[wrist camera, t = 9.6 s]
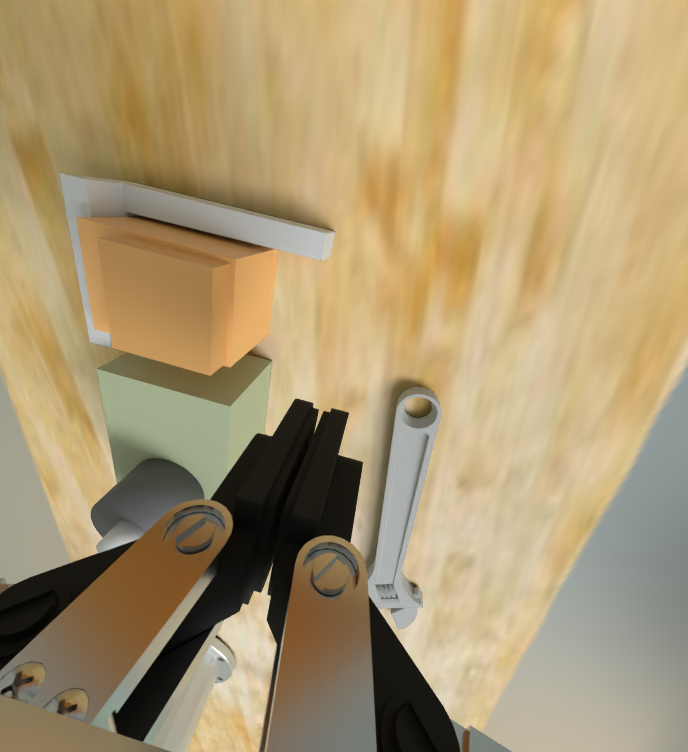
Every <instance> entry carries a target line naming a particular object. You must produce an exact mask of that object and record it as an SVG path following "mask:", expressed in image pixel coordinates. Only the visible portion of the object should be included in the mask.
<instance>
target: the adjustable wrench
mask: <svg viewBox="0 0 688 752" xmlns="http://www.w3.org/2000/svg"><path fill="white" fill-rule="evenodd" d="M415 397H422V398H426V399H428V400H429V401H430V402H431V404H432V410H431V412H430V413H429V414H428V415H427V416H425V417H421V418H415V417H411V416H410V415H408V414H407V413H406V411H405V407H404V405H405V403H406V401H407V400H409V399H411V398H415ZM440 418H441V408H440V402H439V400H438V397H437V396H436V394H435V393H434V392H433V391H431V390H429V389H428V388H424V387H412V388H409V389H407V390H405V391H404V392H402V393H401V395H400V396H399V397H398V400H397V405H396V412H395V419H394V426H393V434H392V441H391V448H390V455H389V462H388V470H387V477H386V484H385V491H384V498H383V506H382V513H381V520H380V527H379V534H378V541H377V549H376V555H375V558H374V561H373V562H372V564H371V565H370V567H369V568H368V569H367V577H368V595H369V596H370V598H371V599H372V601H373V602H374V604H375V605H376V607H377V608H391V614H392V617H393V619H394V621H395V623H396V626H397V628H398V629H404V628H406V627H408V626H409V625H410V624H411V623H412V622H413V621H414V620H415V618H416V615H417V608H420V607H423V600H422V592H421V591H420V589H419V587H414V586H412V585H411V584H410V583H409V581H408V580H407V578H406V577H405V576H404V574H403V572H402V567H403V563H404V559H405V555H406V551H407V547H408V543H409V540H410V536H411V532H412V528H413V524H414V520H415V516H416V512H417V508H418V504H419V500H420V496H421V492H422V488H423V485H424V481H425V477H426V473H427V469H428V465H429V461H430V457H431V453H432V449H433V445H434V441H435V437H436V434H437V430H438V426H439V422H440Z"/></svg>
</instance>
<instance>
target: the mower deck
mask: <svg viewBox="0 0 688 752" xmlns="http://www.w3.org/2000/svg"><path fill="white" fill-rule="evenodd" d="M59 176H60V181H61V187H62V192H63V198H64V203H65V209H66V214H67V220H68V225H69V231H70V236H71V242H72V247H73V253H74V258H75V264H76V269H77V275H78V280H79V286H80V291H81V296H82V302H83V307H84V313H85V318H86V324H87V329H88V335H89V340H90V342H91V343H94V344H98V345H102V346H105V347H109V348H112V342H111V335H110V334H109V333H106V332H102V331H99V330H95V329H94V325H93V319H92V313H91V307H90V301H89V295H88V289H87V283H86V276H85V270H84V264H83V258H82V252H81V246H80V240H79V234H78V228H77V221H76V217H149V218H153V219H157V220H161V221H165V222H169V223H173V224H177V225H181V226H185V227H189V228H193V229H197V230H201V231H205V232H209V233H213V234H217V235H221V236H225V237H229V238H233V239H237V240H241V241H245V242H249V243H253V244H257V245H261V246H265V247H269V248H273V249H277V250H281V251H285V252H289V253H293V254H297V255H301V256H305V257H309V258H313V259H317V260H321V261H322V260H324V259H326V258H328V257H330V256H331V251H332V246H333V240H334V235H335V231H331V230H327V229H323V228H318V227H314V226H310V225H306V224H302V223H298V222H294V221H290V220H286V219H282V218H278V217H273V216H269V215H265V214H261V213H257V212H253V211H249V210H245V209H241V208H237V207H232V206H228V205H224V204H220V203H216V202H212V201H208V200H204V199H200V198H196V197H192V196H187V195H183V194H179V193H175V192H171V191H167V190H163V189H159V188H155V187H151V186H147V185H142V184H138V183H134V182H129V181H121V180H113V179H105V178H96V177H88V176H80V175H71V174H63V173H59ZM271 367H272V361H270V360H267V359H263V358H259V357H256V356H252V355H248V354H245V355H244V356H243V357H242V358H241V359H239V360H238V361H237V362H236V363H235V364H234V365H233V366H231V367H226V366H222V367H221V368H219V369H218V370H217V371H216V372H215V373H213V374H212V375H211V376H209V375H205V374H202V373H198V372H195V371H191V370H188V369H184V368H181V367H177V366H174V365H170V364H167V363H163V362H160V361H156V360H153V359H149V358H146V357H142V356H139V355H135V354H132V353H127V354H125V355H123V356H121V357H119V358H117V359H115V360H113V361H111V362H109V363H107V364H105V365H103V366H101V367H99V368H97V375H98V380H99V386H100V391H101V397H102V402H103V408H104V414H105V419H106V425H107V430H108V436H109V441H110V447H111V453H112V458H113V464H114V469H115V475H116V481H117V485H115V486H114V487H113V488H112V489H111V490H110V491H109V492H108V493H107V494H106V495H105V496H104V497H103V498H101V499H100V500H99V501H98V502H97V503H96V504H95V505H94V506H93V508H92V510H91V519H92V522H93V525H94V527H95V528H96V530H97V531H98V532H99V534H100V535H101V536H102V537H103V539H102V540H101V541H100V542H99V543H98V544H97V550H98V552H99V553H101V552H103V551H106V550H109V549H112V548H115V547H118V546H120V545H123V544H126V543H129V542H132V541H135V540H137V539H139V538H140V537H141V536H142V535H144V534H145V533H146V532H147V531H148V530H149V529H150V528H151V527H152V526H153V525H154V524H155V523H156V522H157V521H158V520H159V519H160V518H161V517H162V516H163V515H165V514H166V513H167V512H168V511H170V510H171V509H172V508H174V507H175V506H177V505H180V504H182V503H184V502H186V501H191V500H196V499H209V500H210V499H211V497H212V496H213V494H214V493H215V492H216V490H217V489H218V487H219V486H220V484H221V483H222V482H223V480H224V479H225V477H226V476H227V474H228V473H229V472H230V470H231V469H232V467H233V466H234V464H235V463H236V461H237V460H238V459H239V457H240V456H241V454H242V453H243V451H244V450H245V449H246V447H247V446H248V444H249V443H250V441H251V440H252V439H253V437H254V436H255V435H256V434H257V433H261V434H264V428H265V420H266V411H267V402H268V393H269V384H270V376H271Z"/></svg>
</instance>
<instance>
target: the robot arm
mask: <svg viewBox="0 0 688 752" xmlns="http://www.w3.org/2000/svg"><path fill="white" fill-rule="evenodd" d="M318 412H319V409H315V408H313V403H311V402H307V401H304V400H300V399H295V400H294V402H293V403H292V405H291V407H290V408H289V410H288V411H287V413H286V415H285V416H284V418H283V420H282V421H281V423H280V425H279V426H278V428H277V429H276V431H275V433H274V434H273V436H272V437H271V436H268V435H264V434H261V433H257V434H256V435H255V436H254V437H253V439H252V440H251V441H250V443H249V444H248V446H247V447H246V449H245V450H244V451H243V453H242V454H241V456H240V457H239V459H238V460H237V461H236V463H235V464H234V466H233V467H232V469H231V470H230V472H229V473H228V474H227V476H226V477H225V479H224V480H223V482H222V483H221V484H220V486H219V487H218V489H217V490H216V492H215V493H214V494H213V496H212V497H211V499H210V500H209V499H196V500H191V501H186V502H184V503H182V504H180V505H177V506H175V507H174V508H172V509H171V510H170V511H168V512H167V513H166V514H165V515H163V516H162V517H161V518H160V519H159V520H158V521H157V522H156V523H155V524H154V525H153V526H152V527H151V528H150V529H149V530H148V531H147V532H146V533H145V534H144V535H142V536H141V537H140V538H139V539H137V540H135V541H132V542H129V543H126V544H123V545H120V546H118V547H115V548H112V549H109V550H106V551H103V552H101V553H98V554H95V555H92V556H89V557H86V558H84V559H81V560H78V561H75V562H72V563H69V564H67V565H64V566H61V567H58V568H56V569H52V570H50V571H47V572H44V573H41V574H39V575H36V576H33V577H30V578H28V579H26V580H23V581H21V582H19V583H17V584H7V583H6V581H5V579H3V578H0V752H187V750H188V747H189V745H190V742H191V740H192V737H193V735H194V732H195V730H196V728H197V725H198V723H199V720H200V718H201V715H202V713H203V711H204V708H205V706H206V703H207V701H208V698H209V696H210V693H211V691H212V689H213V686H214V684H215V683H220V682H224V681H226V680H228V679H229V678H230V677H231V675H232V673H233V670H234V668H235V659H234V656H233V654H232V652H231V651H230V650H229V649H228V647H227V646H226V645H225V644H224V643H222V642H221V641H220V640H219V639H217V638H216V635H217V633H218V632H219V630H220V628H221V626H222V623H223V621H224V620H225V619H227V618H228V617H230V616H232V615H234V614H236V613H237V612H239V611H240V609H241V606H242V604H243V603H244V604H247V605H248V604H249V601H250V599H251V596H252V594H253V591H257V592H260V593H261V592H262V590H263V587H264V585H265V582H266V579H267V577H268V574H269V572H270V569H271V566H272V564H273V566H272V571H271V577H270V583H269V588H268V594H267V595H270V596H271V600H270V605H269V610H268V615H267V622H268V624H269V627H270V629H271V631H272V634H273V636H274V639H275V641H276V643H277V645H276V650H275V656H274V662H273V668H272V674H271V680H270V686H269V692H268V698H267V704H266V710H265V716H264V722H263V727H262V733H261V739H260V745H259V751H258V752H511V751H510V750H508V749H507V748H505V747H504V746H502V745H500V744H499V743H497V742H496V741H494V740H493V739H491V738H489V737H488V736H486V735H484V734H483V733H481V732H480V731H478V730H477V729H475V728H474V727H472V726H469V727H468V728H467V729H465V728H464V727H462V726H461V725H459V724H457V723H456V722H454V721H453V720H451V719H450V718H449V716H448V714H447V712H446V711H445V709H444V707H443V705H442V704H441V702H440V701H439V699H438V698H437V696H436V695H435V693H434V692H433V690H432V689H431V687H430V686H429V684H428V683H427V681H426V680H425V678H424V677H423V675H422V674H421V672H420V671H419V669H418V668H417V667H416V665H415V664H414V662H413V661H412V659H411V658H410V656H409V655H408V653H407V652H406V650H405V649H404V647H403V646H402V644H401V643H400V641H399V640H398V638H397V637H396V635H395V634H394V632H393V631H392V629H391V628H390V626H389V625H388V623H387V622H386V620H385V619H384V617H383V616H382V614H381V613H380V611H379V610H378V608H377V607H376V605H375V604H374V602H373V601H372V599H371V598H370V596H369V595H368V577H367V570H366V565H365V561H364V559H363V558H362V556H361V554H360V552H359V551H358V550H357V549H356V548H355V547H354V546H353V545H352V544H351V543H350V542H351V535H352V529H353V523H354V517H355V510H356V504H357V498H358V491H359V485H360V479H361V472H362V466H363V462H361V461H358V460H354V459H351V458H347V457H343V456H340V455H338V453H339V449H340V445H341V442H342V438H343V434H344V430H345V426H346V423H347V419H348V415H349V413H348V412H344V411H341V410H337V409H333V408H332V409H331V412H326V411H324V412H323V414H322V416H321V419H320V421H319V423H318V426H317V428H316V431H315V426H316V422H317V417H318ZM314 431H315V433H314Z"/></svg>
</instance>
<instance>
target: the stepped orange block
mask: <svg viewBox="0 0 688 752" xmlns="http://www.w3.org/2000/svg"><path fill="white" fill-rule="evenodd" d="M76 221H77V228H78V234H79V240H80V246H81V252H82V258H83V264H84V270H85V276H86V283H87V289H88V295H89V301H90V307H91V313H92V319H93V325H94V329H95V330H99V331H102V332H106V333H109V334H110V335H111V342H112V348H114V349H118V350H121V351H125V352H128V353H132V354H135V355H139V356H142V357H146V358H149V359H153V360H156V361H160V362H163V363H167V364H170V365H174V366H177V367H181V368H184V369H188V370H191V371H195V372H198V373H202V374H205V375H209V376H211V375H212V374H213V373H215V372H216V371H217V370H218V369H219V368H221V367H222V366H226V367H231V366H233V365H234V364H235V363H236V362H237V361H238V360H239V359H241V358H242V357H243V356H244V355H245V354H246V353H248V352H249V351H250V350H251V349H252V348H253V347H254V346H256V345H257V344H258V343H259V342H260V341H261V340H262V339H264V338H265V337H266V336H267V335H268V334H269V329H270V320H271V312H272V303H273V294H274V285H275V276H276V268H277V259H278V250H277V249H273V248H269V247H265V246H261V245H257V244H253V243H249V242H245V241H241V240H237V239H233V238H229V237H225V236H221V235H217V234H213V233H209V232H205V231H201V230H197V229H193V228H189V227H185V226H181V225H177V224H173V223H169V222H165V221H161V220H157V219H153V218H149V217H76Z"/></svg>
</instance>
